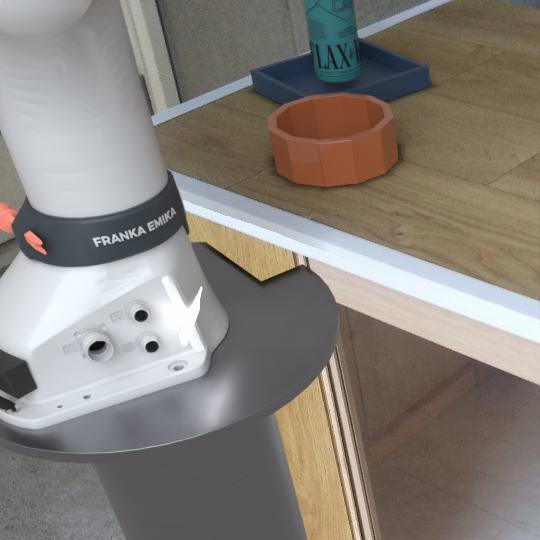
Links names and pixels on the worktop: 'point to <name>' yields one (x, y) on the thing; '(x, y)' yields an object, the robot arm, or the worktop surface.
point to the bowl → (333, 139)
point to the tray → (368, 83)
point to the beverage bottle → (333, 39)
